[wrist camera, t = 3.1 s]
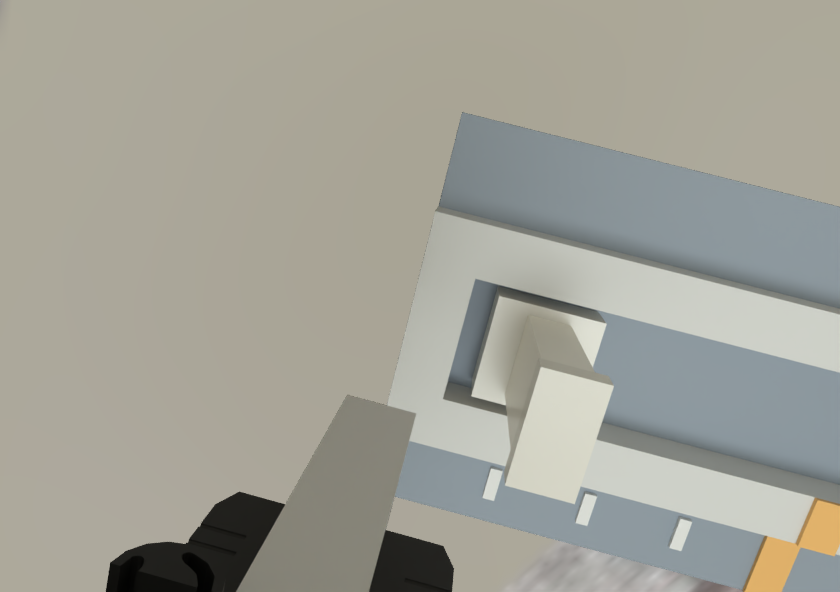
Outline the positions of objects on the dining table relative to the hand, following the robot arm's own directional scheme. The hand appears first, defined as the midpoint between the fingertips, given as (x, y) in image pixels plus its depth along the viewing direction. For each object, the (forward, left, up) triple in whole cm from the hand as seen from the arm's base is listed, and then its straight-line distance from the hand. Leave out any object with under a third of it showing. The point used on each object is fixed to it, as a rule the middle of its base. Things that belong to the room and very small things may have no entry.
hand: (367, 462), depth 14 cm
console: (0, -12, -15) cm, 19 cm away
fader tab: (0, -5, -13) cm, 14 cm away
